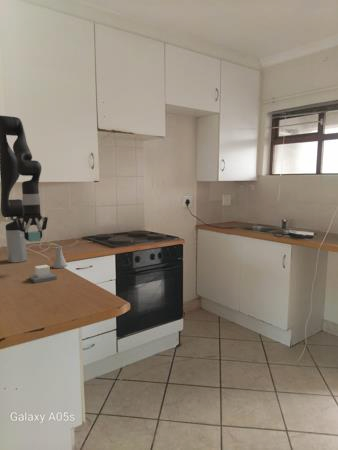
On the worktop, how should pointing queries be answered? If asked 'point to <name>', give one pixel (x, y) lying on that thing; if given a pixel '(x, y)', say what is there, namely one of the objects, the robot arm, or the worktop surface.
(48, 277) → the base plate
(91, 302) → the worktop surface
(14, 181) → the robot arm
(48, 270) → the white brick
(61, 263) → the flask
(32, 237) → the teal brick
